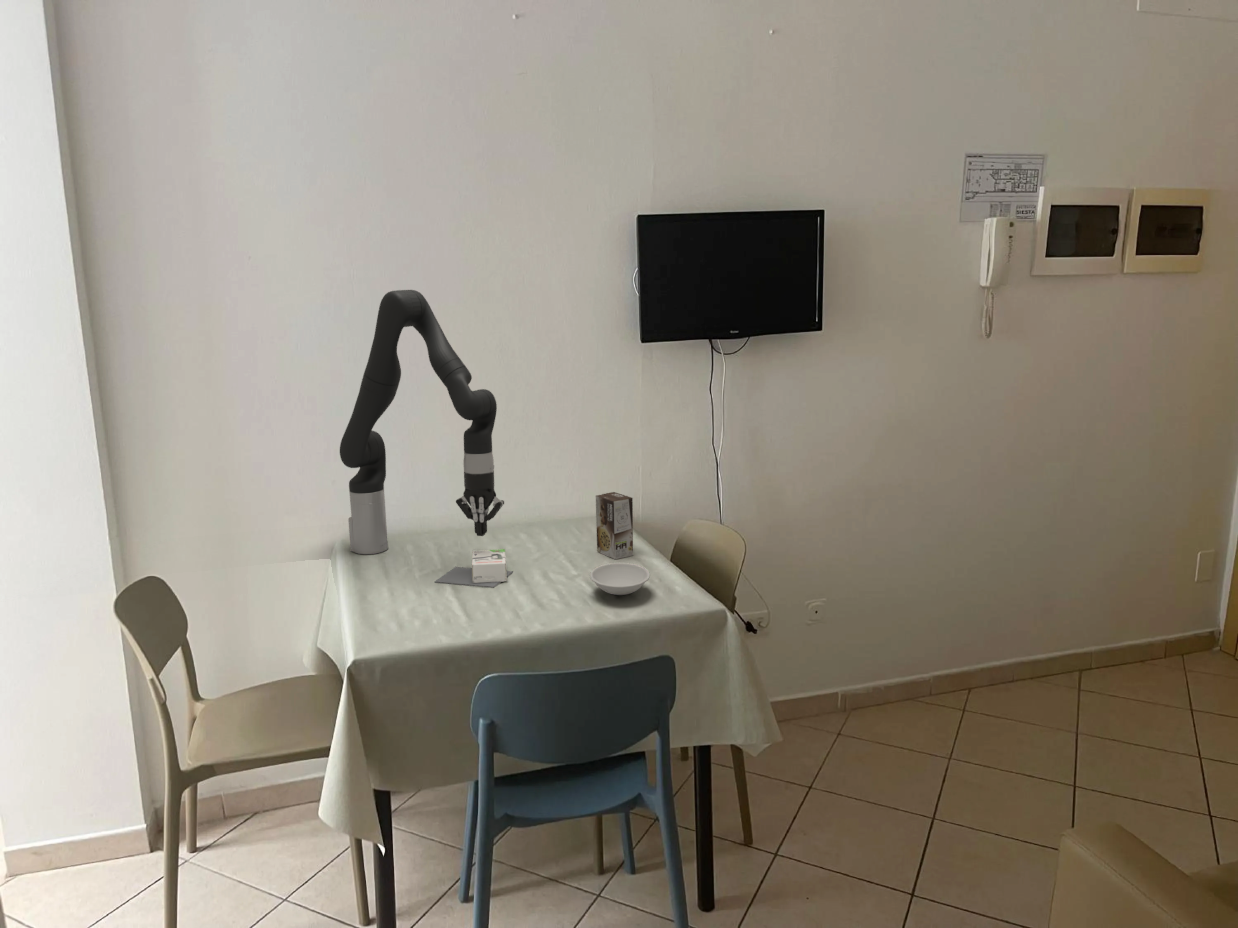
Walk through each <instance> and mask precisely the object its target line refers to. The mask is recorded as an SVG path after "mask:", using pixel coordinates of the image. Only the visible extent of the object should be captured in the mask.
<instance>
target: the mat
mask: <svg viewBox="0 0 1238 928" xmlns="http://www.w3.org/2000/svg"><path fill="white" fill-rule="evenodd" d="M512 574H513V570H507V578H508V577H509V576H511V575H512ZM434 583H435V584H445V585H446V584H447V585H457V586H458V585H460V586H468V587H479V588H491V589H495V588H496V587H497V586H498V585H499V584H500V583H502V582H483V583H473V581H472V567H464V566H455V567H453V568H451V569H450V570H449V571H447V572H446V573H444V574H443V575H442V576H440V577H438V578H437V579H436V580H434Z"/></svg>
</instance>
